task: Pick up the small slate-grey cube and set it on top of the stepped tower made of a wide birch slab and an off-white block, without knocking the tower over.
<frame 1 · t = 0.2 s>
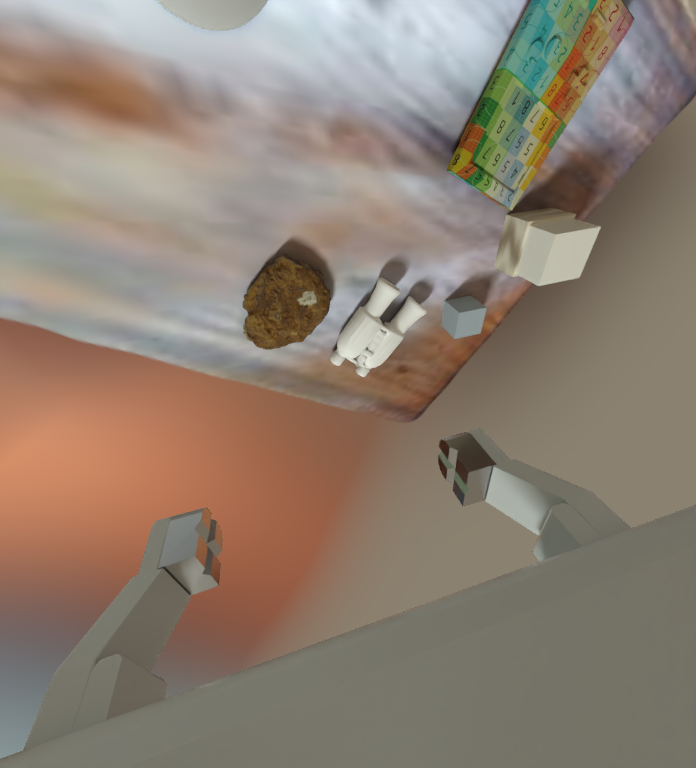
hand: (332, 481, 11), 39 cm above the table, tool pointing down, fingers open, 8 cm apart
decorative rock: (283, 303, 48), on the table
grey cube: (455, 310, 56), on the table
puzzle game: (514, 102, 39), on the table
binoculars: (370, 326, 54), on the table
birch slab: (520, 238, 51), on the table, touching white block
white block: (542, 247, 47), point 5 cm above the table, touching birch slab
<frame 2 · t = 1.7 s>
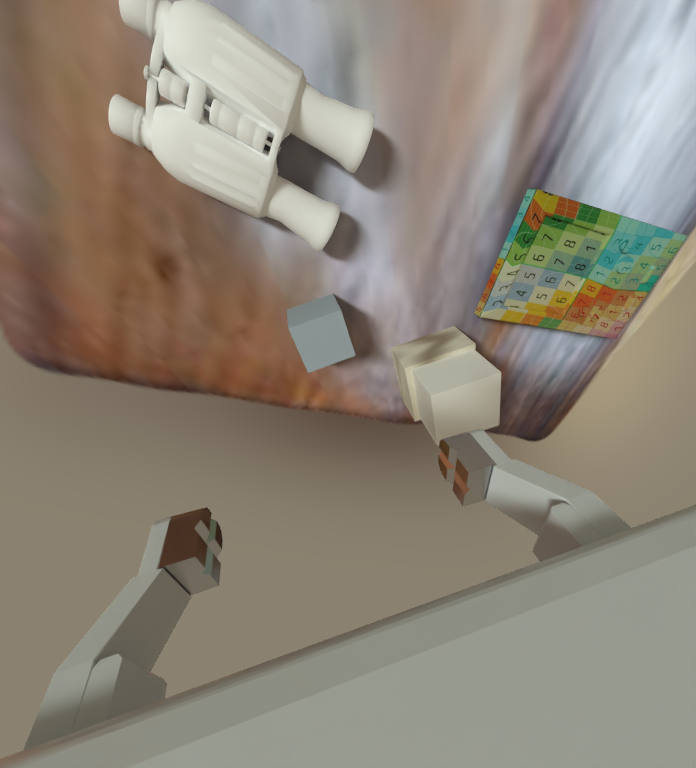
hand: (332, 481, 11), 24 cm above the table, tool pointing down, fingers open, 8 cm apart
grey cube: (317, 322, 33), on the table
puzzle game: (555, 268, 36), on the table
binoculars: (251, 138, 24), on the table
birch slab: (425, 363, 39), on the table, touching white block
white block: (444, 384, 35), point 5 cm above the table, touching birch slab
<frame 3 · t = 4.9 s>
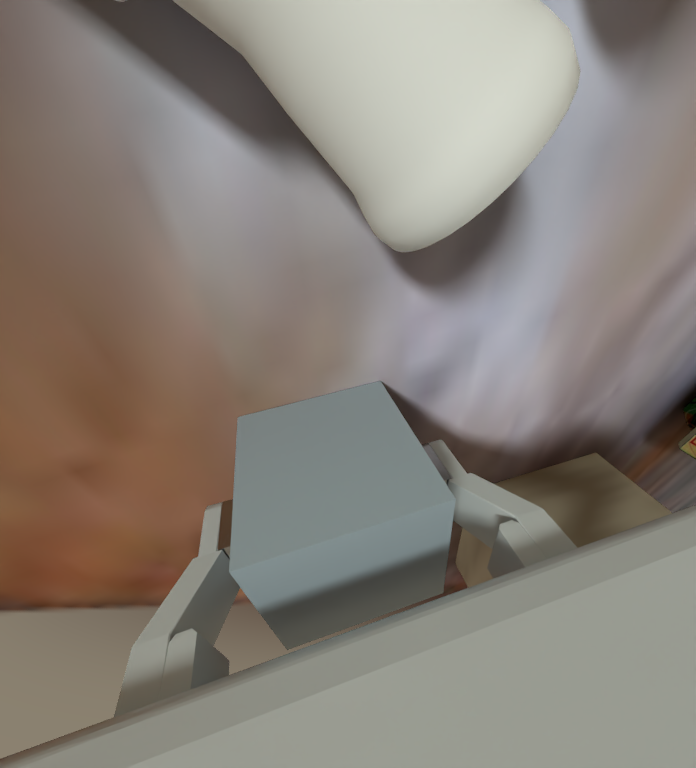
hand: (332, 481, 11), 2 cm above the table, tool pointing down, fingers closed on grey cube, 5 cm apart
grey cube: (323, 448, 12), on the table, touching gripper
birch slab: (517, 510, 20), on the table, touching white block
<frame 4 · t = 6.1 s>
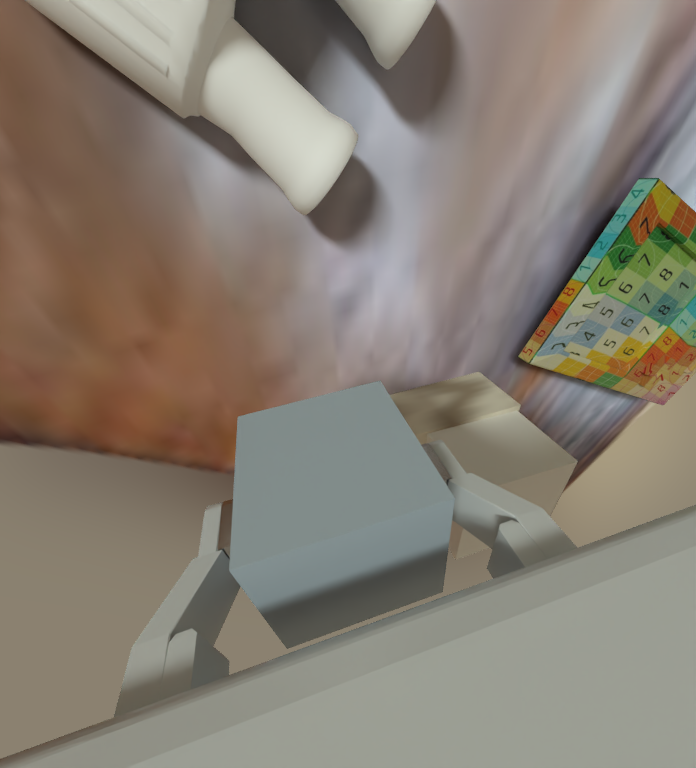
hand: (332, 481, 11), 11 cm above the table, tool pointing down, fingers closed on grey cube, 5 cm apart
grey cube: (323, 448, 12), point 10 cm above the table, touching gripper
puzzle game: (611, 306, 27), on the table
birch slab: (431, 418, 27), on the table, touching white block
white block: (466, 456, 23), point 5 cm above the table, touching birch slab
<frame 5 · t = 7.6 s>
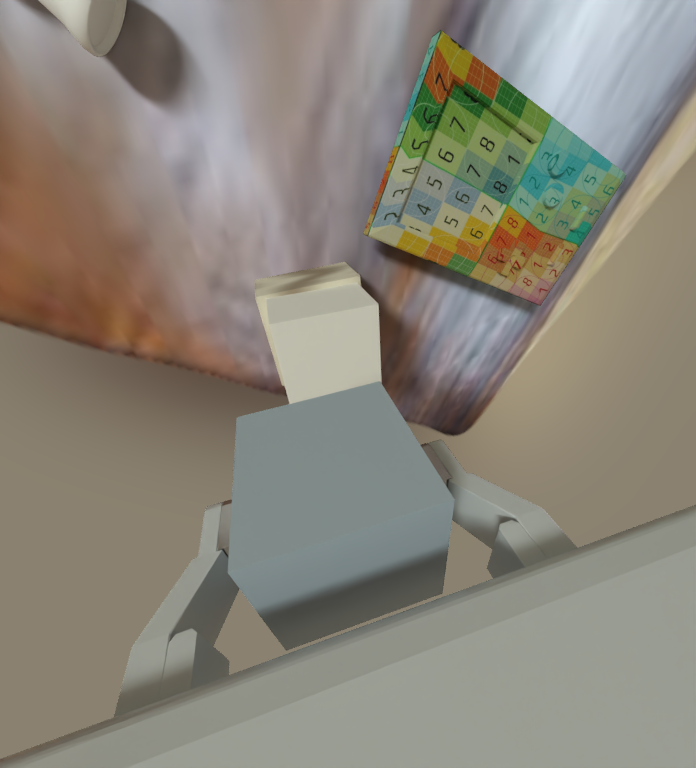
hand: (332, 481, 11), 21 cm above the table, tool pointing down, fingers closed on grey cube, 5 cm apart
grey cube: (322, 448, 12), point 19 cm above the table, touching gripper
puzzle game: (475, 201, 28), on the table
birch slab: (309, 313, 29), on the table, touching white block
white block: (319, 332, 25), point 5 cm above the table, touching birch slab
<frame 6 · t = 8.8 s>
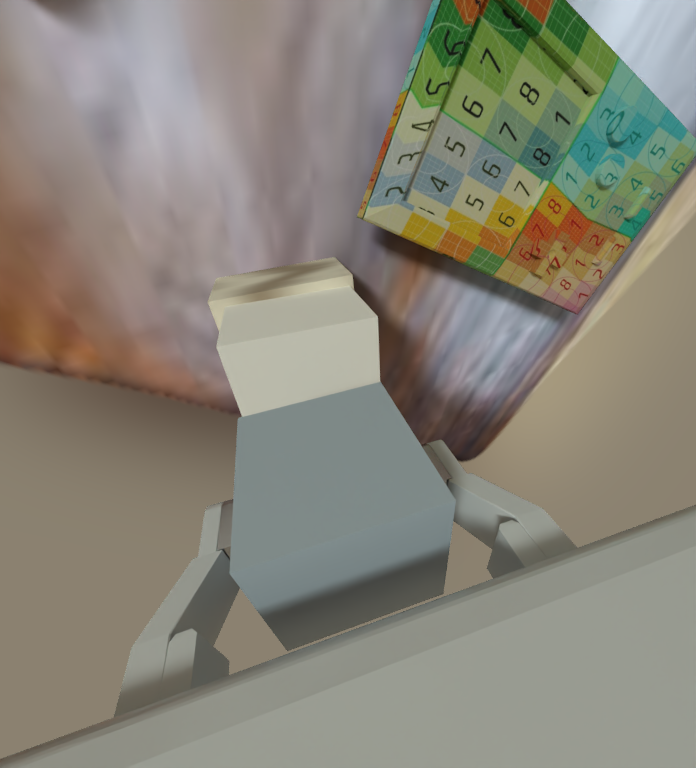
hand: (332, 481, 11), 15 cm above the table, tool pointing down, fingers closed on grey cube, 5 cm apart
grey cube: (323, 449, 12), point 14 cm above the table, touching gripper
puzzle game: (501, 180, 22), on the table
birch slab: (289, 321, 23), on the table, touching white block
white block: (300, 350, 19), point 5 cm above the table, touching birch slab
when the fingers open (13 cm above the table, at t = 10.1 s): grey cube drops 1 cm, resting on white block.
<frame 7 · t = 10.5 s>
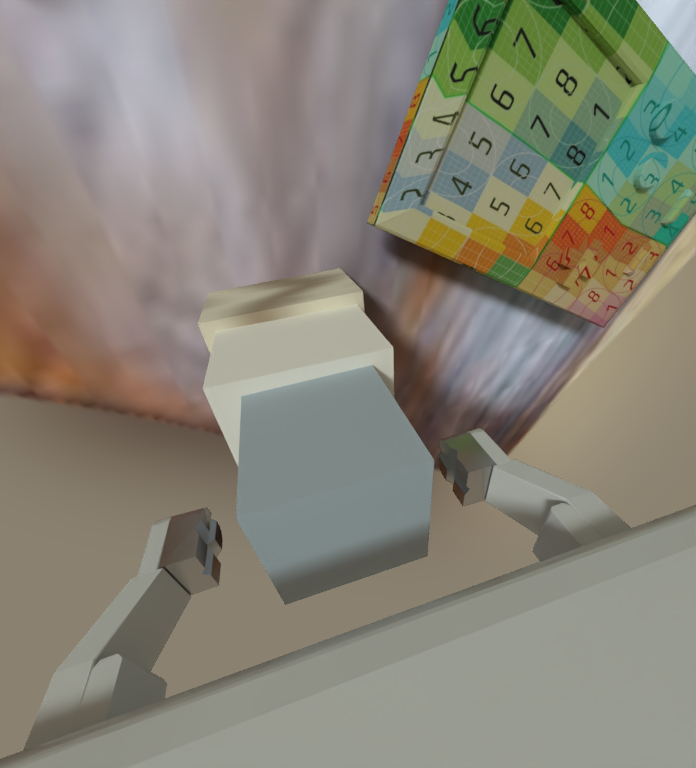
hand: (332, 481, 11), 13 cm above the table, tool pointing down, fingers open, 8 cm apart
grey cube: (319, 428, 13), point 10 cm above the table, touching white block
puzzle game: (524, 182, 20), on the table
birch slab: (290, 338, 21), on the table, touching white block
white block: (301, 376, 17), point 5 cm above the table, touching birch slab, grey cube
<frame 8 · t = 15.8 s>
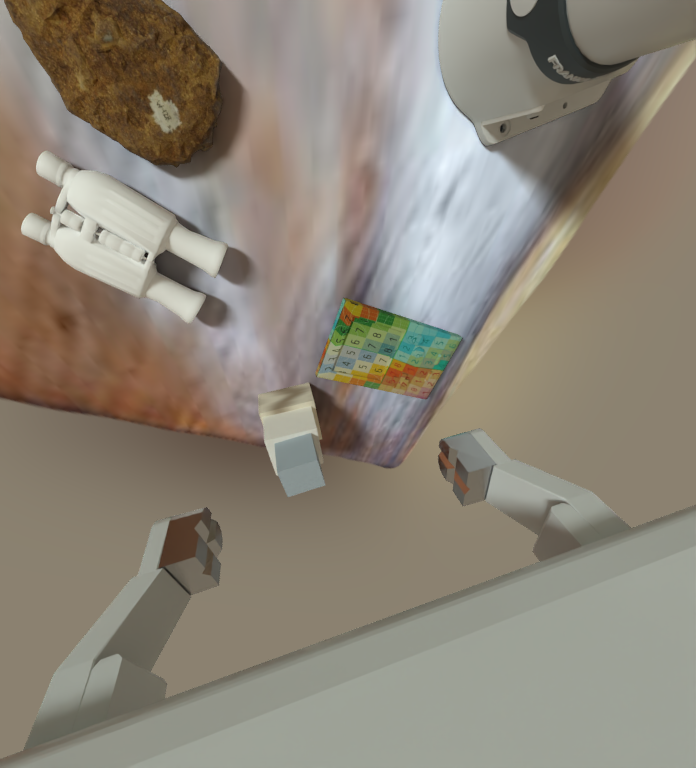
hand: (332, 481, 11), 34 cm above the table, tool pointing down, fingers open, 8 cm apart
decorative rock: (131, 72, 27), on the table
grey cube: (297, 450, 43), point 10 cm above the table, touching white block
puzzle game: (382, 345, 49), on the table
binoculars: (140, 242, 34), on the table
birch slab: (289, 407, 51), on the table, touching white block
white block: (292, 429, 47), point 5 cm above the table, touching birch slab, grey cube
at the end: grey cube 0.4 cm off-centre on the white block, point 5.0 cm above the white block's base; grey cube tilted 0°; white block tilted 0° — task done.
